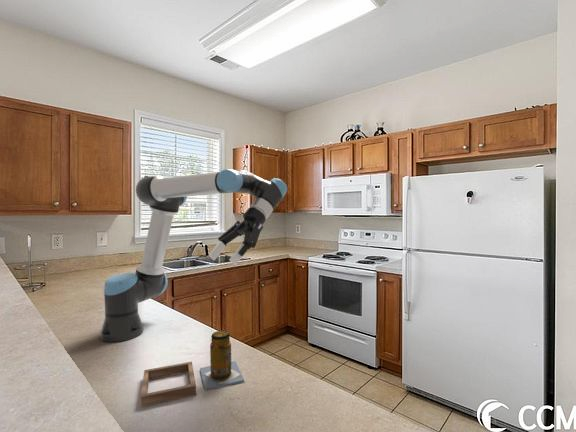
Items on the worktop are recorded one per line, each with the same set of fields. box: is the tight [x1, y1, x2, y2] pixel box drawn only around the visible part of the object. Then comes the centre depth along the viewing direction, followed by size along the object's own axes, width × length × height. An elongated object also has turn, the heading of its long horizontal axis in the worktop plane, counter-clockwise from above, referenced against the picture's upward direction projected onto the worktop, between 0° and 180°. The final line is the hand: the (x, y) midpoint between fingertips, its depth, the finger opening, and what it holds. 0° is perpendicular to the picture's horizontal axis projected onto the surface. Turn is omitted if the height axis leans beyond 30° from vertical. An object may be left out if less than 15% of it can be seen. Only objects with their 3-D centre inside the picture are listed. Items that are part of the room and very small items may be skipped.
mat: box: [199, 361, 245, 391], centre depth 94 cm, size 12×11×1 cm
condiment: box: [205, 330, 242, 384], centre depth 93 cm, size 7×8×12 cm
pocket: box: [140, 361, 197, 408], centre depth 88 cm, size 14×13×2 cm
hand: (221, 260), depth 103 cm, fingers open, 13 cm apart
